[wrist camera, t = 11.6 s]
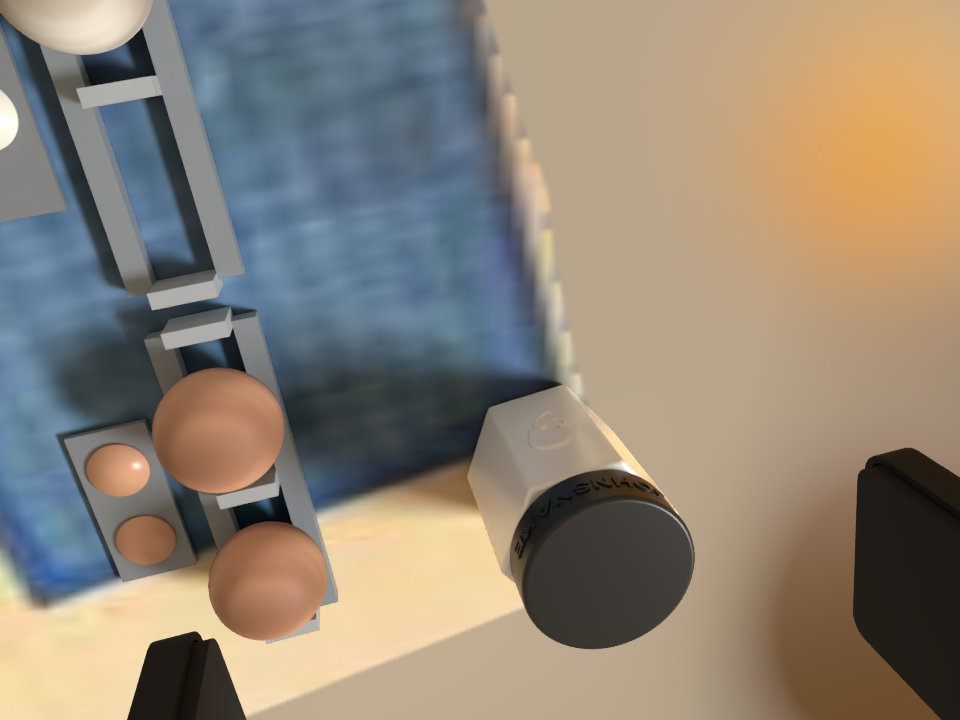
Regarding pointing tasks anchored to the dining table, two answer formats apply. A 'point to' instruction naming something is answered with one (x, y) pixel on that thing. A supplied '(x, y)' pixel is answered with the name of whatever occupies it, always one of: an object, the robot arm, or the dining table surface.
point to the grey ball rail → (227, 260)
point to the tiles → (111, 450)
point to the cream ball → (77, 22)
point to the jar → (577, 522)
